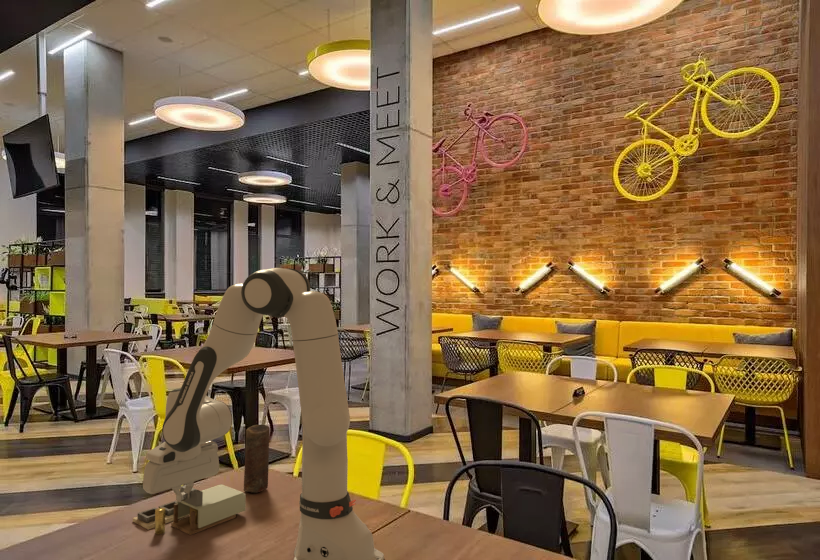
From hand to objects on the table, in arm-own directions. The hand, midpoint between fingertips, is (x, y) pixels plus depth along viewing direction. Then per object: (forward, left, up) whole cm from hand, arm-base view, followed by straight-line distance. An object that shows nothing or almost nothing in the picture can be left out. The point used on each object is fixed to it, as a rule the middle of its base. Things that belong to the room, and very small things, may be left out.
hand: (182, 500), depth 150 cm
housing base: (0, -6, -8) cm, 10 cm away
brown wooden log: (+7, -29, -8) cm, 31 cm away
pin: (+3, +5, -8) cm, 10 cm away
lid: (0, -9, -7) cm, 11 cm away
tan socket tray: (+11, 0, -8) cm, 14 cm away
